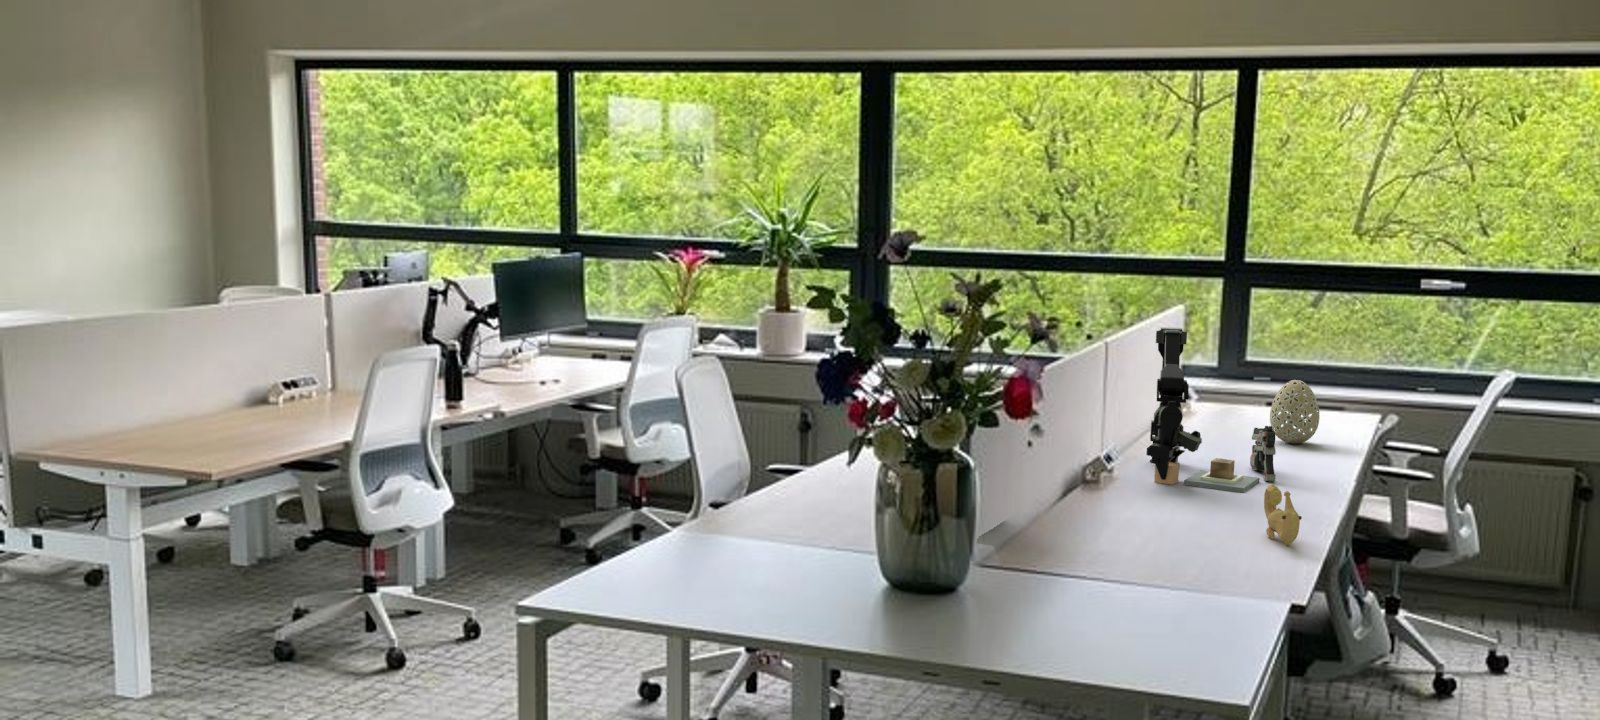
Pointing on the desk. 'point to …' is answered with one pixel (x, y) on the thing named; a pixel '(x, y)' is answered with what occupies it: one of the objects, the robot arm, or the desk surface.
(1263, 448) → the toy blaster
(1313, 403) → the ornament
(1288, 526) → the toy
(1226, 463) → the walnut block
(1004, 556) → the desk surface
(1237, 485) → the blueprint plate
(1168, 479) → the terracotta block
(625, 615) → the desk surface
